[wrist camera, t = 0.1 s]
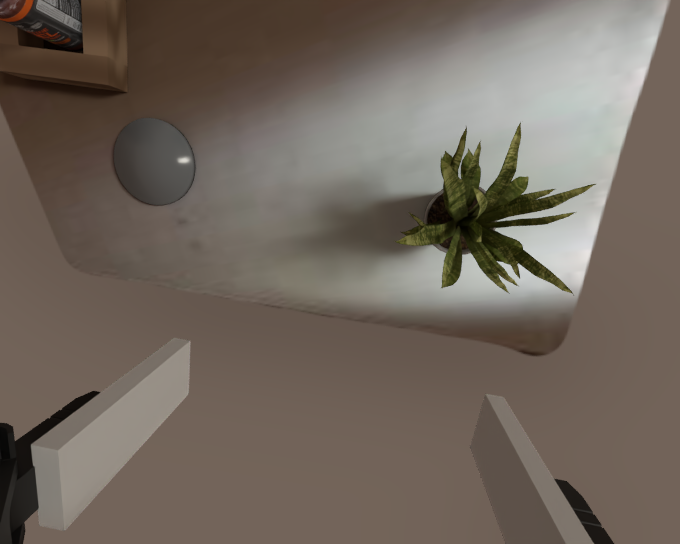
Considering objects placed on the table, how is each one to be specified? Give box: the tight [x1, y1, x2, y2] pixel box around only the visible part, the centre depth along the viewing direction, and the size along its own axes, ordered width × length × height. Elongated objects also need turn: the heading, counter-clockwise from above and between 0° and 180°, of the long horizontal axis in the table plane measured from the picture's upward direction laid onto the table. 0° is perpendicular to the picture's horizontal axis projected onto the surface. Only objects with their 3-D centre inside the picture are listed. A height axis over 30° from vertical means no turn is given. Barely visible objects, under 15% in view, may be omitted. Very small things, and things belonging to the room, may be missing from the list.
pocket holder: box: [0, 0, 128, 92], centre depth 37 cm, size 13×13×3 cm
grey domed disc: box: [114, 118, 195, 205], centre depth 41 cm, size 10×10×1 cm
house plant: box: [395, 123, 595, 294], centre depth 32 cm, size 14×14×16 cm
